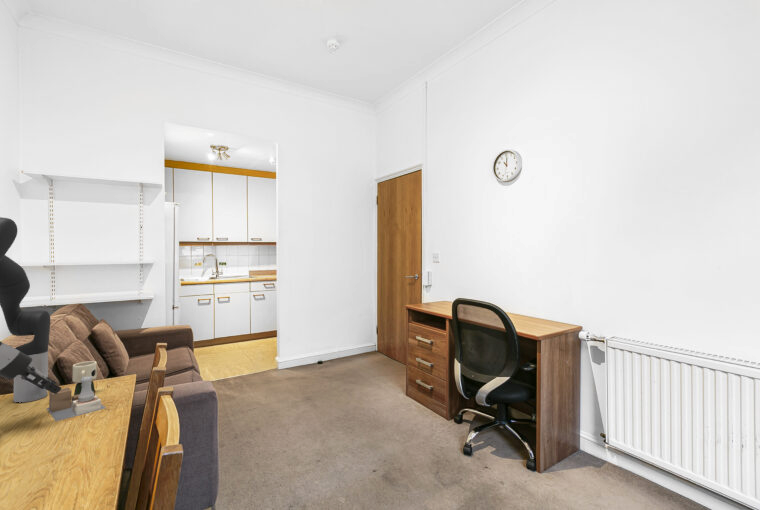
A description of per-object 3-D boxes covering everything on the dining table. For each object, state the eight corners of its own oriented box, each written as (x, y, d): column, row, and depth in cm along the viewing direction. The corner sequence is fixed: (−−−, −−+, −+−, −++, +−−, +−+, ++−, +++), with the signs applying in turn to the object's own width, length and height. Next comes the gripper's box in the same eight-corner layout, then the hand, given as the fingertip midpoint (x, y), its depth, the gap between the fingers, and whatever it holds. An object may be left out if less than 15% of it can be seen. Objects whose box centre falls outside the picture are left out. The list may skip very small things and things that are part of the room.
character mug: (94, 400, 132) (95, 365, 132) (69, 404, 128) (70, 368, 128) (97, 391, 141) (98, 358, 141) (74, 394, 137) (75, 361, 138)
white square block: (72, 409, 121) (72, 400, 121) (95, 403, 126) (95, 394, 126) (76, 414, 117) (77, 405, 117) (100, 408, 122) (100, 399, 122)
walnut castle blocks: (49, 408, 122) (49, 391, 122) (92, 397, 131) (92, 381, 131) (51, 412, 119) (52, 394, 119) (96, 401, 128) (96, 384, 128)
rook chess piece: (84, 403, 118) (85, 379, 119) (74, 402, 119) (74, 378, 119) (97, 398, 123) (98, 375, 123) (87, 397, 124) (87, 374, 124)
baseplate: (46, 411, 122) (46, 408, 122) (93, 400, 132) (93, 396, 132) (55, 425, 112) (56, 421, 112) (106, 411, 122) (106, 407, 122)
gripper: (21, 354, 104) (72, 382, 113) (15, 347, 113) (62, 373, 122) (-5, 376, 100) (49, 404, 109) (-10, 367, 109) (40, 393, 117)
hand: (55, 388), depth 115 cm, fingers open, 8 cm apart
